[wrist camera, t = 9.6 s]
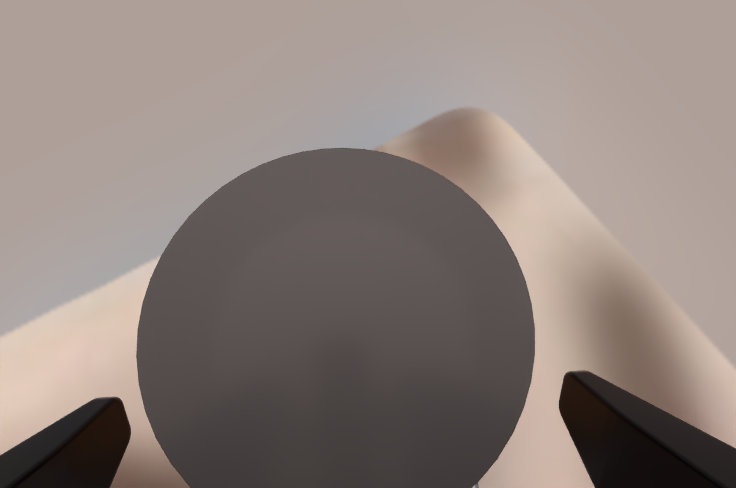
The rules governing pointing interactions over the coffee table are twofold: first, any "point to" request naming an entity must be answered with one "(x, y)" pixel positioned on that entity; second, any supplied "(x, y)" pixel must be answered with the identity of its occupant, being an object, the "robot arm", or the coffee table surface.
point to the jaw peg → (336, 330)
